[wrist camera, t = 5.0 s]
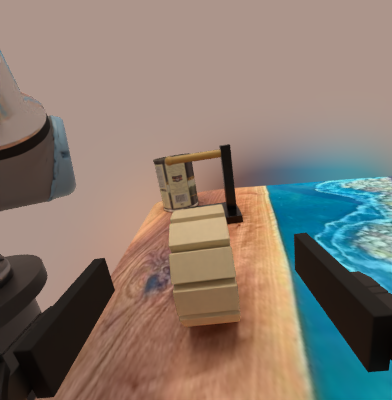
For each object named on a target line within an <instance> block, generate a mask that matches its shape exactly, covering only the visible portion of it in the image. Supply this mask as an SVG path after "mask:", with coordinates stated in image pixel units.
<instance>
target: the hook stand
mask: <svg viewBox="0 0 392 400" xmlns="http://www.w3.org/2000/svg"><path fill="white" fill-rule="evenodd" d="M219 147H220V149H219V150H213V151H206V152H200V153H194V154H187V155H181V156H174V157H170V156H168V157H166V158H165V164H166V165H168V166H171V165H173V164H179V163H185V162H192V161H199V160H205V159H211V158H218V157H221V164H222V173H223V181H224V190H225V198H226V202H224V203H217V204H210V205H202V206H195V207H188V208H183V209H190V208H197V207H204V206H212V205H219V204H221V205H222V206H223V209H224V212H225V217H226V222H227V224H230V223H238V222H243V217H242V214H241V212H240V210H239V208H238V206H237V205H236V198H235V189H234V180H233V170H232V160H231V150H230V145H229V144H228V145H221V146H219Z"/></svg>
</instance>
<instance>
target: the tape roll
mask: <svg viewBox="0 0 392 400" xmlns="http://www.w3.org/2000/svg"><path fill="white" fill-rule="evenodd" d="M170 221H171V224H170V225H169V248H170V250H171V252H172V254H169V262H170V274H171V284H172V285H173V284H174V289H173V296H174V301H175V305H176V310H177V314H178V316H179V320H180V322H181V323H182V324H183V326H184V327H190V326H200V325H210V324H219V323H229V322H239V321H240V304H239V296H238V287H237V282H236V278H235V277H236V273H235V267H234V260H233V254H232V248H231V246H230V237H229V232H228V227H227V222H226V217H225V212H224V209H223V206H222V205H221V204H219V205H212V206H204V207H197V208H190V209H183V210H176V211H173V214H172V216H171V219H170Z"/></svg>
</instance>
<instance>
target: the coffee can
mask: <svg viewBox="0 0 392 400" xmlns="http://www.w3.org/2000/svg"><path fill="white" fill-rule="evenodd" d="M181 155H187V154H180V155H174V156H181ZM174 156H170V157H174ZM165 158H166V157H163V158H159V159H155V160H153V162H154V164H155V169H156V173H157V178H158V182H159V187H160V192H161V197H162V201H163V206H164V210H165V211H168V212H173V211H176V210H183V208H188V207H195V206H197V205H198V204H199V202H198V197H197V191H196V185H195V179H194V173H193V167H192V162H185V163H179V164H173V165H171V166H168V165H166V164H165Z"/></svg>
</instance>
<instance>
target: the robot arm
mask: <svg viewBox="0 0 392 400" xmlns="http://www.w3.org/2000/svg"><path fill="white" fill-rule="evenodd" d="M75 187H76V183H75V177H74V172H73V167H72V162H71V157H70V152H69V147H68V142H67V137H66V133H65V128H64V124H63V120H62V119H61V118H60V117H54V116H47V114H46V112H45V110H44V108H43V106H42V105H41V103H40V102H39V101H37V100H36V99H34V98H33V97H31V96H29V95H26V94H24V93H22V92H20V89H19V87H18V85H17V83H16V81H15V79H14V77H13V75H12V73H11V71H10V69H9V67H8V65H7V63H6V61H5V59H4V57H3V55H2V53H1V51H0V211H3V210H8V209H12V208H18V207H22V206H27V205H32V204H37V203H42V202H46V201H47V202H49V201H51V200H52V199H56V198H59V197H63V196H66V195H69V194H71V193H72V192H73V191H74V190H75ZM294 246H295V270H296V272H297V273H298V275H299V276H300V277H301V279H302V280H303V282H304V283H305V284H306V286H307V287H308V289H309V290H310V291H311V293H312V294H313V296H314V297H315V298H316V300H317V301H318V303H319V304H320V305H321V307H322V308H323V310H324V311H325V312H326V314H327V315H328V317H329V318H330V319H331V321H332V322H333V324H334V325H335V326H336V328H337V329H338V331H339V332H340V333H341V335H342V336H343V338H344V339H345V340H346V342H347V343H348V345H349V346H350V347H351V349H352V350H353V352H354V353H355V354H356V356H357V357H358V359H359V360H360V361H361V363H362V364H363V366H364V367H365V368H366V370H367V371H368V372H376V371H388V370H389V364H390V359H391V360H392V294H391V293H388V291H387V290H386V289H384V288H383V287H381V286H380V284H378V283H377V282H376V281H375V280H373V279H372V278H371V277H369V276H367V275H365V274H363V273H361V272H359V271H357V272H349V271H348V270H347V269H346V268H345V267H344V266H342V265H341V264H340V263H339V262H338V261H337V260H336V259H335V258H334V257H332V256H331V255H330V254H329V253H328V252H327V251H326V250H325V249H324V248H322V247H321V246H320V245H319V244H318V243H317V242H316V241H315V240H314V239H312V238H311V237H310V236H309V235H308V234H307V233H300V234H294ZM12 275H13V270H12V268H11V265H10V263H9V261H8V260H7V259H6V258H5V257H3V256H2V255H1V254H0V289H1V288H2V287H3V286H4V285H5V284H6V283H7V282H8V281H9V280H10V278H11V277H12ZM114 291H115V289H114V286H113V283H112V280H111V276H110V274H109V270H108V267H107V264H106V261H105V258H100V259H94V260H93V261H92V262H91V264H90V265H89V266H88V267H87V268H86V269H85V270H84V272H83V273H82V274H81V275H80V276H79V277H78V278H77V279H76V280H75V282H74V283H73V284H72V285H71V286H70V287H69V288H68V290H67V291H66V292H65V293H64V294H63V295H62V296H61V297H60V299H59V300H58V301H57V302H56V303H55V304H54V305H53V306H50V307H49V308H48V309H47V310H45V311H44V312H43V313H41V314H40V315H39V316H38V317H37V318H36V320H35V321H34V322H33V324H31V325H30V326H29V327H28V328H27V329H26V331H25V332H24V333H23V334H22V335H21V336H20V337H19V338H18V339H17V340H16V341H15V343H14V344H13V345H12V346H11V347H10V348H9V349H8V350H7V351H6V352H5V353H4V355H3V356H2V354H1V352H0V400H27V399H26V398H27V396H28V395H29V393H30V392H31V390H32V389H33V391H34V393H35V395H36V397H37V398H50V397H54V396H55V394H56V393H57V391H58V389H59V387H60V386H61V384H62V382H63V380H64V379H65V377H66V375H67V373H68V372H69V370H70V368H71V366H72V365H73V363H74V361H75V359H76V358H77V356H78V354H79V352H80V351H81V349H82V347H83V345H84V344H85V342H86V340H87V338H88V337H89V335H90V333H91V331H92V330H93V328H94V326H95V324H96V322H97V321H98V319H99V317H100V315H101V314H102V312H103V310H104V308H105V307H106V305H107V303H108V301H109V300H110V298H111V296H112V294H113V293H114Z"/></svg>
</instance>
